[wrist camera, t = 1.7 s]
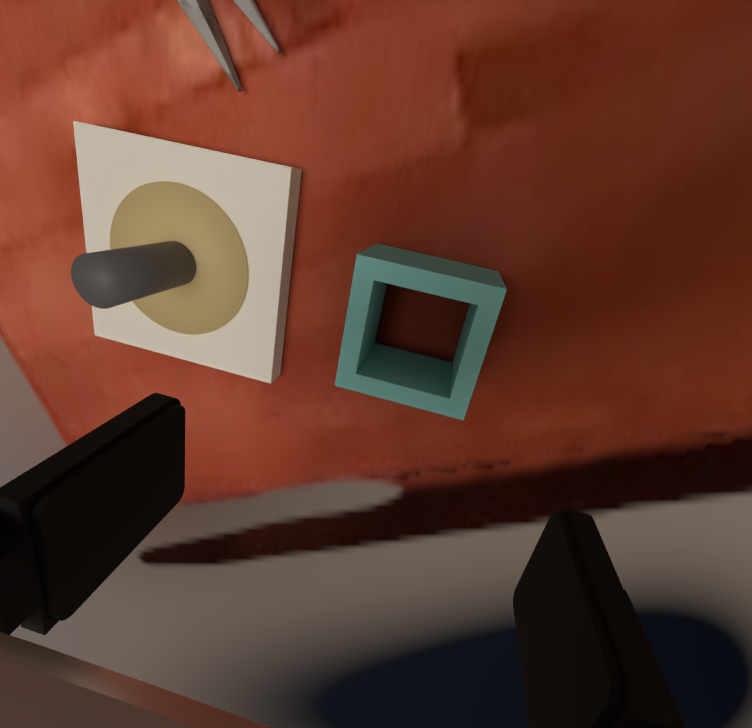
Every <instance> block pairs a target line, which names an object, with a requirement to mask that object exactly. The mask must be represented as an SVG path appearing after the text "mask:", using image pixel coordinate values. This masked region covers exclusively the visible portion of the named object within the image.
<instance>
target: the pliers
mask: <svg viewBox="0 0 752 728" xmlns="http://www.w3.org/2000/svg"><path fill="white" fill-rule="evenodd" d="M233 1H234V2H235V3H236V4H237V5H238V7H239V8H240V9H241V10H242V11H243V12H244V14H245V15H246V16H247V17H248V18H249V20H250V21H251V22H252V23H253V24H254V25H255V27H256V28H257V29H258V30H259V31H260V32H261V34H262V35H263V36H264V37H265V38H266V39H267V41H268V42H269V43H270V44H271V45H272V46H273V48H274V49H275V50H276V51H277V52H278V53H279V54H281V51H280V49H279V47H278V45H277V43H276V41H275V40H274V38H273V36H272V34H271V32H270V30H269V28H268V26H267V24H266V23H265V21H264V19H263V17H262V15H261V13H260V11H259V9H258V7H257V5H256V4H255V2H254V0H233ZM178 2H179V4H180V6H181V7H182V9H183V10H184V11H185V13H186V14H187V16H188V17H189V19H190V20H191V22H192V23H193V25H194V26H195V28H196V29H197V31H198V32H199V34H200V35H201V37H202V38H203V40H204V41H205V43H206V44H207V45H208V47H209V48H210V50H211V51H212V53H213V54H214V56H215V57H216V59H217V60H218V62H219V63H220V65H221V66H222V68H223V69H224V71H225V72H226V74H227V75H228V77H229V78H230V80H231V81H232V82H233V84H234V85H235V87H236V88H237V90H238V91H242V88H241V85H240V82H239V80H238V77H237V74H236V72H235V69H234V66H233V63H232V61H231V58H230V55H229V52H228V50H227V47H226V44H225V41H224V39H223V36H222V33H221V31H220V28H219V25H218V22H217V20H216V17H215V15H214V12H213V10H212V7H211V5H210V2H209V0H178Z"/></svg>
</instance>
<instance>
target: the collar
mask: <svg viewBox="0 0 752 728" xmlns="http://www.w3.org/2000/svg"><path fill="white" fill-rule="evenodd" d="M387 284H391V285H396V286H400V287H404V288H408V289H412V290H417V291H421V292H425V293H429V294H433V295H437V296H442V297H446V298H450V299H454V300H458V301H463V302H467V303H470V305H469V308H468V311H467V315H466V318H465V321H464V325H463V328H462V331H461V335H460V338H459V342H458V345H457V348H456V352H455V355H454V358H453V362H448V361H444V360H440V359H436V358H432V357H428V356H424V355H421V354H417V353H413V352H409V351H405V350H401V349H397V348H393V347H389V346H385V345H382V344H378V343H375V339H376V335H377V330H378V325H379V320H380V315H381V310H382V305H383V301H384V296H385V291H386V286H387ZM506 291H507V288H506V286H505V284H504V282H503V280H502V278H501V275H500V273H499V271H497V270H492V269H488V268H484V267H479V266H475V265H470V264H466V263H462V262H457V261H453V260H449V259H444V258H440V257H435V256H431V255H427V254H422V253H418V252H414V251H409V250H405V249H400V248H396V247H392V246H387V245H383V244H379V243H377V244H375V245H373V246H372V247H370V248H368V249H366V250H364V251H362V252H360V253H358V254H357V256H356V262H355V268H354V274H353V280H352V286H351V292H350V298H349V304H348V310H347V316H346V321H345V327H344V333H343V339H342V345H341V351H340V357H339V363H338V369H337V375H336V381H335V386H338V387H342V388H345V389H349V390H353V391H356V392H360V393H364V394H368V395H371V396H375V397H379V398H382V399H386V400H390V401H393V402H397V403H401V404H404V405H408V406H412V407H416V408H419V409H423V410H427V411H430V412H434V413H438V414H441V415H445V416H449V417H453V418H456V419H460V420H464V418H465V415H466V412H467V409H468V405H469V402H470V399H471V396H472V393H473V390H474V387H475V384H476V381H477V378H478V375H479V372H480V369H481V366H482V363H483V360H484V357H485V354H486V351H487V348H488V345H489V342H490V339H491V336H492V333H493V330H494V327H495V324H496V321H497V318H498V315H499V312H500V309H501V306H502V303H503V300H504V297H505V294H506Z"/></svg>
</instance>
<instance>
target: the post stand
mask: <svg viewBox="0 0 752 728" xmlns="http://www.w3.org/2000/svg"><path fill="white" fill-rule="evenodd" d="M73 124H74V134H75V144H76V154H77V164H78V174H79V184H80V194H81V204H82V214H83V223H84V233H85V243H86V253H85V254H81V255H79V256H78V257H77V258H76V259H75V260H74V262H73V264H72V268H71V276H72V281H73V284H74V286H75V288H76V290H77V292H78V293H79V295H80V296H81V297H82V298H83V299H84V300H85V301H86V302H87V303H89V304H90V305H92V313H93V322H94V332H95V335H96V336H100V337H103V338H107V339H111V340H114V341H118V342H122V343H125V344H129V345H133V346H136V347H140V348H144V349H147V350H151V351H154V352H158V353H162V354H165V355H169V356H173V357H176V358H180V359H184V360H187V361H191V362H194V363H198V364H202V365H205V366H209V367H213V368H216V369H220V370H224V371H227V372H231V373H234V374H238V375H242V376H245V377H249V378H253V379H256V380H260V381H264V382H267V383H272V382H273V381H274V380H275V379H276V378H277V377H278V376H279V375H280V372H281V362H282V353H283V343H284V334H285V324H286V315H287V305H288V296H289V286H290V277H291V267H292V258H293V248H294V239H295V229H296V220H297V210H298V201H299V191H300V182H301V172H302V169H299V168H294V167H289V166H285V165H280V164H275V163H271V162H266V161H261V160H257V159H252V158H247V157H242V156H238V155H233V154H228V153H224V152H219V151H214V150H210V149H205V148H200V147H196V146H191V145H186V144H181V143H177V142H172V141H167V140H163V139H158V138H153V137H149V136H144V135H139V134H135V133H130V132H125V131H120V130H116V129H111V128H106V127H102V126H97V125H92V124H87V123H82V122H77V121H73Z"/></svg>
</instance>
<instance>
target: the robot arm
mask: <svg viewBox="0 0 752 728" xmlns="http://www.w3.org/2000/svg"><path fill="white" fill-rule="evenodd" d="M184 487H185V409H184V407H183V406H181V404H180V401H179V400H178V399H177V398H173V397H169V396H166V395H162V394H159V393H154V394H151V395H150V396H148V397H146V398H145V399H143V400H141V401H140V402H138V403H137V404H135V405H133V406H132V407H130V408H128V409H127V410H125V411H124V412H122V413H120V414H119V415H117V416H116V417H114V418H112V419H111V420H109V421H107V422H106V423H104V424H103V425H101V426H99V427H98V428H96V429H94V430H93V431H91V432H90V433H88V434H86V435H85V436H83V437H81V438H80V439H78V440H77V441H75V442H73V443H72V444H70V445H69V446H67V447H65V448H64V449H62V450H60V451H59V452H58V453H56V454H54V455H52V456H51V457H49V458H47V459H46V460H44V461H43V462H41V463H39V464H38V465H36V466H34V467H33V468H31V469H30V470H28V471H26V472H25V473H23V474H22V475H20V476H18V477H17V478H15V479H14V480H12V481H10V482H9V483H7V484H5V485H4V486H2V487H1V488H0V728H271V727H268V726H265V725H262V724H260V723H257V722H254V721H251V720H248V719H246V718H243V717H240V716H237V715H234V714H231V713H229V712H226V711H223V710H220V709H218V708H215V707H212V706H209V705H207V704H204V703H201V702H198V701H196V700H193V699H190V698H187V697H184V696H182V695H179V694H176V693H173V692H170V691H167V690H165V689H162V688H159V687H157V686H154V685H151V684H148V683H145V682H142V681H140V680H137V679H134V678H131V677H128V676H125V675H123V674H120V673H117V672H114V671H111V670H108V669H106V668H103V667H100V666H97V665H94V664H92V663H89V662H86V661H83V660H80V659H77V658H75V657H72V656H69V655H66V654H63V653H60V652H57V651H55V650H52V649H49V648H46V647H44V646H40V645H38V644H35V643H32V642H28V641H25V640H22V639H19V638H16V637H13V636H10V634H11V633H12V632H13V631H14V630H15V629H16V628H17V627H18V626H19V625H20V624H21V627H23V628H26V629H29V630H31V631H34V632H37V633H40V634H43V635H46V634H47V633H48V631H49V630H50V629H51V628H52V627H53V626H54V625H55V624H56V623H57V622H58V621H59V620H61V621H62V620H66V619H67V618H69V617H70V616H71V615H72V614H73V613H74V612H75V611H76V610H77V609H78V608H79V607H80V606H81V605H82V604H83V603H84V602H85V601H86V600H87V599H88V597H89V596H90V595H91V594H92V593H93V592H94V591H95V590H96V589H97V588H98V587H99V586H100V585H101V584H102V583H103V582H104V580H105V579H106V578H107V577H108V576H109V575H110V574H111V573H112V572H113V571H114V570H115V569H116V568H117V567H118V566H119V565H120V563H121V562H122V561H123V560H124V559H125V558H126V557H127V556H128V555H129V554H130V553H131V552H132V551H133V550H134V549H135V548H136V547H137V546H138V544H139V543H140V542H141V541H142V540H143V539H144V538H145V537H146V536H147V535H148V534H149V532H151V531H152V529H154V527H155V526H156V525H157V524H158V523H159V522H160V521H161V520H162V519H163V518H164V517H165V516H166V515H167V514H168V513H169V512H170V511H171V509H172V508H173V507H174V506H175V505H176V504H177V503H178V502H179V501H180V499H181V497H182V495H183V492H184ZM513 608H514V616H515V623H516V630H517V638H518V645H519V653H520V660H521V667H522V675H523V682H524V690H525V697H526V704H527V712H528V719H529V726H530V728H686V727H685V725H684V723H683V721H682V718H681V716H680V713H679V711H678V709H677V707H676V704H675V702H674V700H673V698H672V695H671V693H670V690H669V688H668V686H667V683H666V681H665V679H664V677H663V674H662V672H661V670H660V667H659V665H658V663H657V660H656V658H655V656H654V653H653V651H652V649H651V646H650V644H649V642H648V640H647V637H646V635H645V633H644V630H643V628H642V626H641V623H640V621H639V619H638V617H637V614H636V612H635V610H634V607H633V605H632V603H631V600H630V598H629V596H628V594H627V593H626V591H625V590H624V589H623V588H622V585H621V583H620V581H619V578H618V576H617V573H616V571H615V569H614V566H613V564H612V562H611V559H610V557H609V555H608V552H607V550H606V548H605V545H604V543H603V541H602V538H601V536H600V534H599V531H598V529H597V527H596V524H595V522H594V520H593V518H592V516H590V515H588V514H585V513H581V512H578V511H574V510H571V509H567V508H563V509H562V510H561V511H560V512H559V513H558V512H553V513H552V514H551V516H550V518H549V520H548V522H547V524H546V526H545V529H544V530H543V533H542V535H541V537H540V539H539V541H538V543H537V545H536V547H535V549H534V551H533V553H532V555H531V558H530V560H529V562H528V564H527V566H526V568H525V570H524V572H523V574H522V576H521V578H520V580H519V583H518V585H517V587H516V589H515V592H514V597H513Z"/></svg>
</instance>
